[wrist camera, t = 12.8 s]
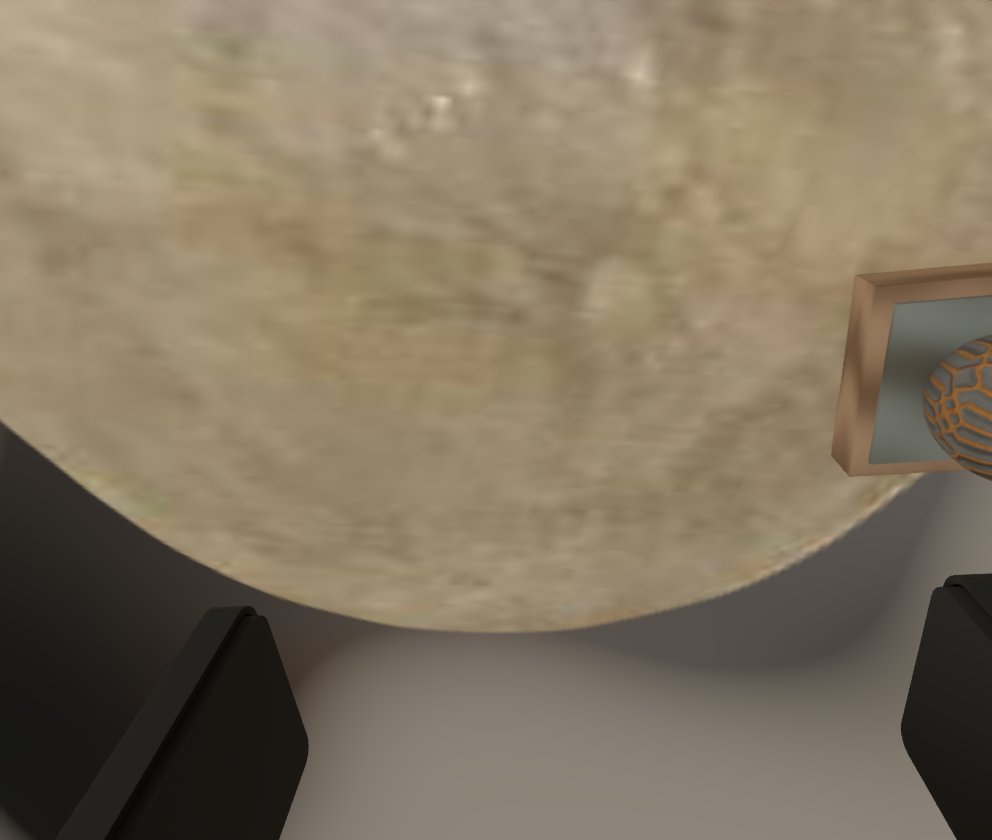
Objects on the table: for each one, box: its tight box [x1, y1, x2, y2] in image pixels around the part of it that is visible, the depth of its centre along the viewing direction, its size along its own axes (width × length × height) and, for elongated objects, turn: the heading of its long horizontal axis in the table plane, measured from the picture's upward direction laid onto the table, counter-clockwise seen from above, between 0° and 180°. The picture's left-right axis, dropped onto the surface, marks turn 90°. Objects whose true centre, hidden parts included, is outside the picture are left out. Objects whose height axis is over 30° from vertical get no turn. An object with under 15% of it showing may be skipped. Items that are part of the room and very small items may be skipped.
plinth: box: [832, 263, 992, 477], centre depth 35 cm, size 11×11×3 cm
